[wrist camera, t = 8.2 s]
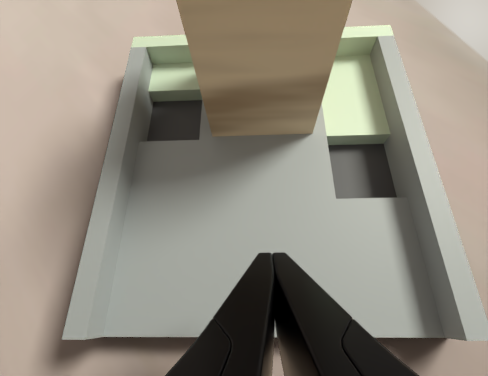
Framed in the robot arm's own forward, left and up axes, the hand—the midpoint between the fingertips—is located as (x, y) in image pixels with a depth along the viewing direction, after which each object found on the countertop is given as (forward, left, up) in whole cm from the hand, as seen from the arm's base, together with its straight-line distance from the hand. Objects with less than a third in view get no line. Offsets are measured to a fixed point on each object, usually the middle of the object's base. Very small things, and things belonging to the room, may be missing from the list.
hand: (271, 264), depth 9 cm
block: (+10, -6, -5) cm, 12 cm away
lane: (+5, -3, -6) cm, 9 cm away
